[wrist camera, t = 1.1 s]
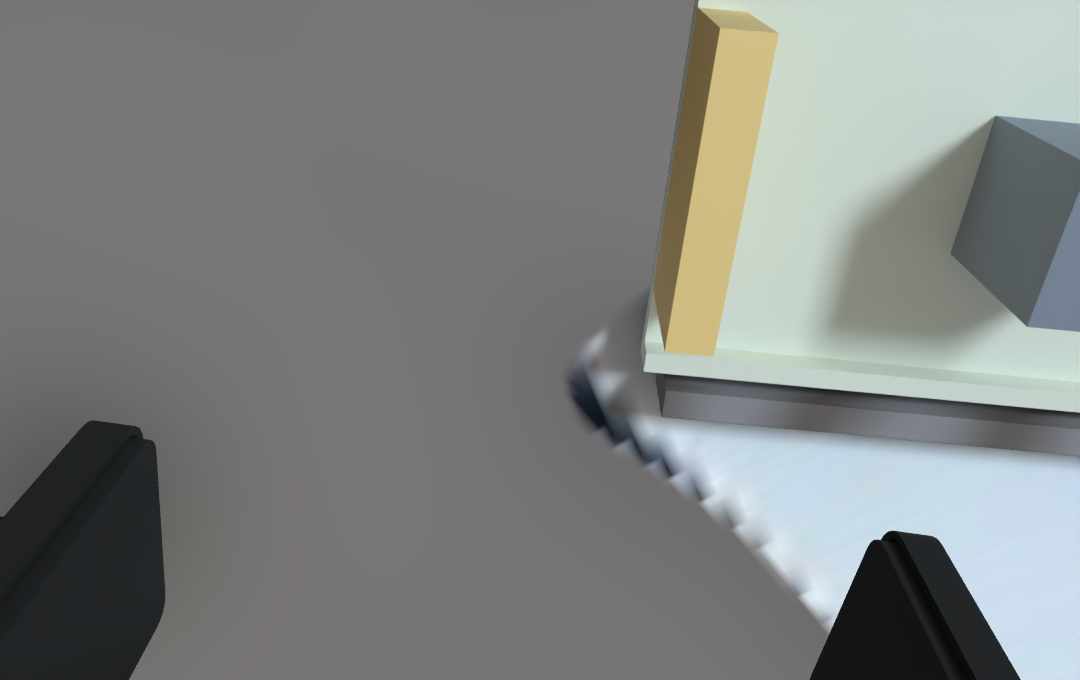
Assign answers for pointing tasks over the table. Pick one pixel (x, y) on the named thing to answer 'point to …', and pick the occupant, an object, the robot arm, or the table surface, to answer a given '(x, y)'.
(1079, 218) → the slate block
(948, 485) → the table surface
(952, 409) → the guide base
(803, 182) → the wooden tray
